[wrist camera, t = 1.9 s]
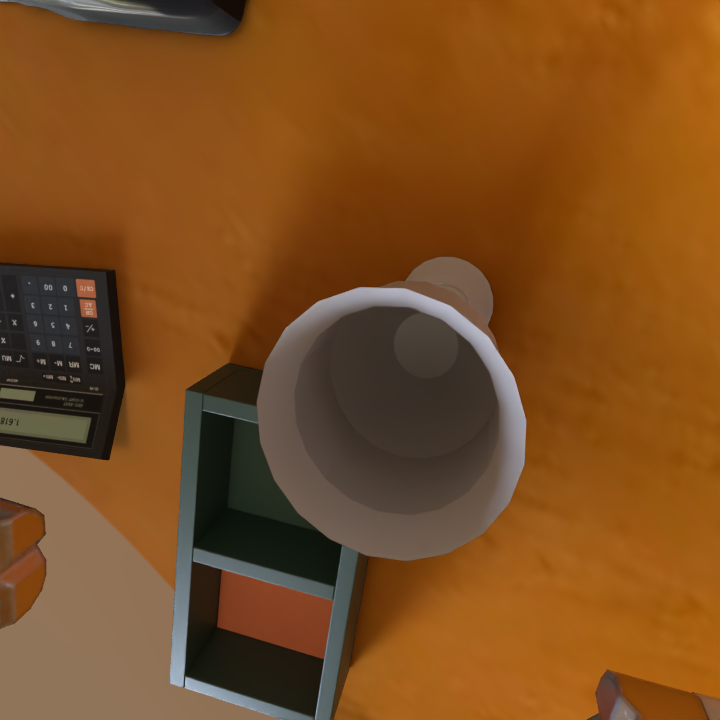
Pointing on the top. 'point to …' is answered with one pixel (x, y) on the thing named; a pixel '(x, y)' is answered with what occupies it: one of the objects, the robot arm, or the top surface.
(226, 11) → the stapler
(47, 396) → the calculator
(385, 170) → the top surface
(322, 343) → the chalice
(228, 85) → the top surface
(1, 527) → the robot arm
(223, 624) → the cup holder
